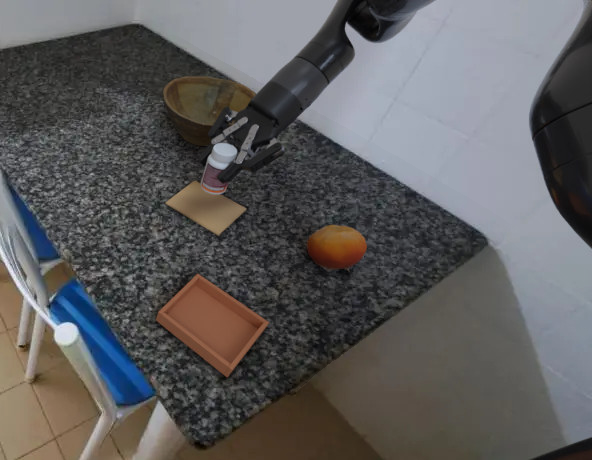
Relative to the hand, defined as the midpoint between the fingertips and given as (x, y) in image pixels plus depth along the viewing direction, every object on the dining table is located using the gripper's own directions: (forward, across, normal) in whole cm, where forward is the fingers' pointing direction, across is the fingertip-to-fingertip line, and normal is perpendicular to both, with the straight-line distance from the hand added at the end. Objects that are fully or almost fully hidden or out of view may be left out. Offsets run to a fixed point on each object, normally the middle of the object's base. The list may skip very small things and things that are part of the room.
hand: (210, 172), depth 69 cm
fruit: (-2, +19, +16) cm, 25 cm away
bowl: (-5, -21, +18) cm, 28 cm away
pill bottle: (+2, 0, +4) cm, 5 cm away
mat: (+5, 0, +8) cm, 9 cm away
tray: (+16, +21, -4) cm, 27 cm away
